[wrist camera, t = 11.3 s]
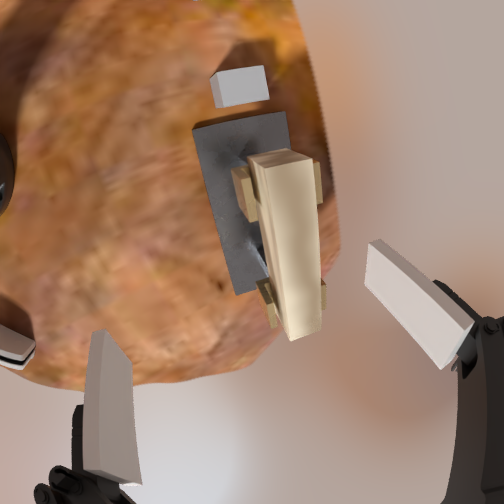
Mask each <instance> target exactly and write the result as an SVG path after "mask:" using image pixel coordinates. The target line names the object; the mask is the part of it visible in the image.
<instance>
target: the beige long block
mask: <svg viewBox="0 0 504 504" xmlns="http://www.w3.org/2000/svg"><path fill="white" fill-rule="evenodd" d="M247 161H248V167H249V172H250V177H251V182H252V187H253V193H254V198H255V203H256V208H257V214H258V219H259V224H260V230H261V235H262V241H263V246H264V252H265V257H266V263H267V268H268V274H269V279H270V285H271V290H272V296H273V302H274V307H275V312H276V314H277V316H278V318H279V320H280V322H281V324H282V326H283V328H284V330H285V332H286V334H287V336H288V338H289V340H290V341H293V340H295V339H298V338H301V337H303V336H306V335H308V334H311V333H314V332H316V331H319V330H321V272H320V248H319V231H318V216H317V202H316V191H315V180H314V170H313V161H312V158H310V157H307V156H305V155H302V154H300V153H297V152H295V151H292V150H290V149H287V148H284V149H279V150H274V151H269V152H265V153H260V154H256V155H251V156H247Z"/></svg>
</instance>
